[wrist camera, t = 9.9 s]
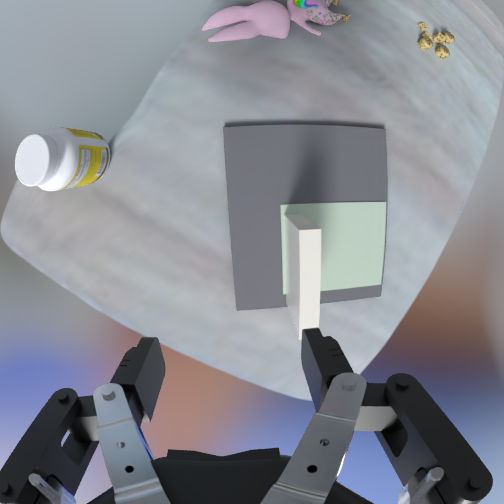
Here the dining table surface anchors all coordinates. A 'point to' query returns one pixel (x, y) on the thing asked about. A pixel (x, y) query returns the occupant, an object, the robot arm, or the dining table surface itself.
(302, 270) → the tile
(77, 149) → the supplement bottle
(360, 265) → the mat
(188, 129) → the dining table surface
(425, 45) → the yellow speckled pebbles
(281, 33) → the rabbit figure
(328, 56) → the dining table surface
